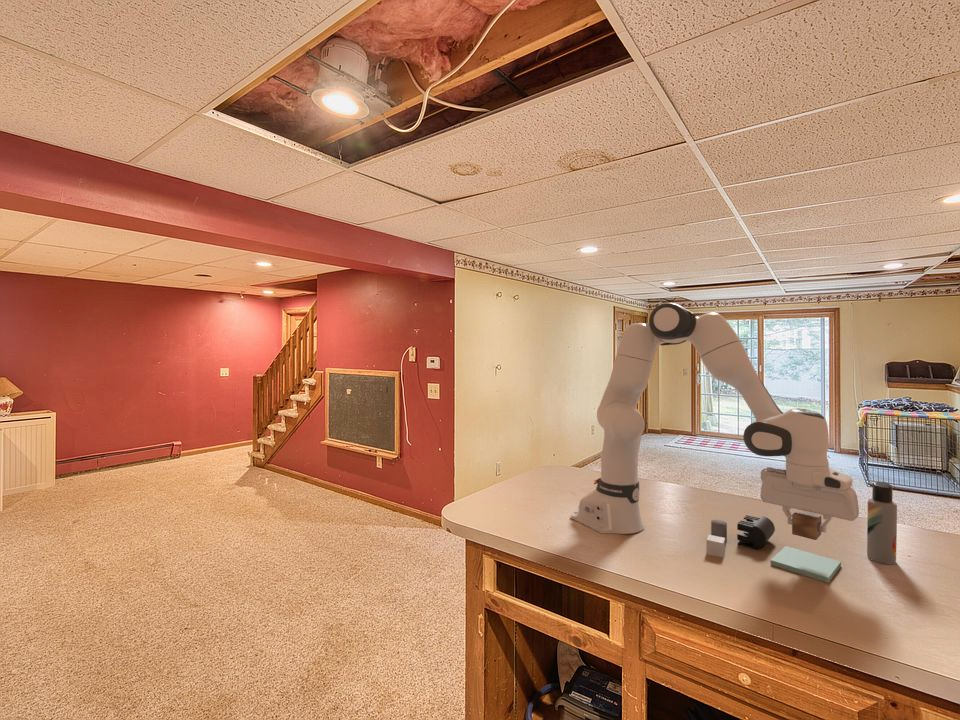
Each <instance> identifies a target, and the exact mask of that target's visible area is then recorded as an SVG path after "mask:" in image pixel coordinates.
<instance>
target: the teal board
mask: <svg viewBox="0 0 960 720" xmlns="http://www.w3.org/2000/svg"><path fill="white" fill-rule="evenodd" d="M770 565H771V566H774V567H776V568H777V567H778V568H781V569H783V570H786V571H790V572H792V573H796V574H799V575H802V576H805V577H809V578H812V579H815V580H818V581H822V582H825V583H830V581H832V579H833V578H834V576H835V575H836V574H837V572H838V571H839V569H841V567H842V561H840V560H837V559H833V558H830V557H826V556H823V555H819V554H816V553H812V552H808V551H805V550H801V549H798V548H795V547H791V546H787V545H786V546H784V547H783V548H781V550H780V551H779V552H777V554H776V555H774V556H773V557H772V558H771V559H770Z"/></svg>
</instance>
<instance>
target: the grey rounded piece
mask: <svg viewBox="0 0 960 720" xmlns="http://www.w3.org/2000/svg"><path fill="white" fill-rule="evenodd" d="M710 521H711V523H710V525H711V526H710V527H711V528H710V535H713V536H718V537H723V538H725V543H727V541H728V533H727V532H728V523H727V522H726V521H724V520H721V519H713V520H710Z"/></svg>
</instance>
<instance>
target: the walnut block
mask: <svg viewBox="0 0 960 720" xmlns="http://www.w3.org/2000/svg"><path fill="white" fill-rule="evenodd" d="M791 514H792V513H791ZM819 523H822V515H821V514H817V513H812V512H808V511H803V510H798V509H796V511H795V512H793V514H792V525H791V534H792V535H794V536H797V537H798V536H799V537H802V538H806V539H810V540H814V541H817V540H818V538H819V537H821V535H822V532H820V531H818V524H819Z"/></svg>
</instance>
